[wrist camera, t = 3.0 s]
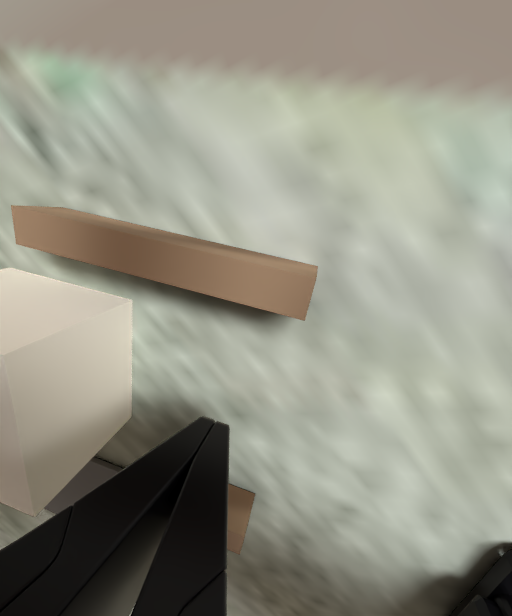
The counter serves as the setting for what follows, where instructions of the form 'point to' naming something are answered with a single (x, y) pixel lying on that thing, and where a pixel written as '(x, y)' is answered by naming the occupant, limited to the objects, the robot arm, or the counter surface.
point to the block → (58, 382)
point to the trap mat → (83, 484)
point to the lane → (175, 278)
